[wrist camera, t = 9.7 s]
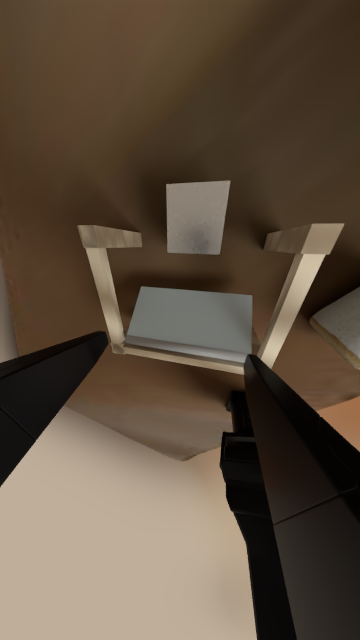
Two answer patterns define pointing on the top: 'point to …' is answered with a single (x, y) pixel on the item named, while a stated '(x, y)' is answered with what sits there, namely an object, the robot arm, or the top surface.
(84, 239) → the birch frame
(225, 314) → the flap
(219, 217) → the steel cube
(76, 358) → the robot arm
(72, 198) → the top surface
